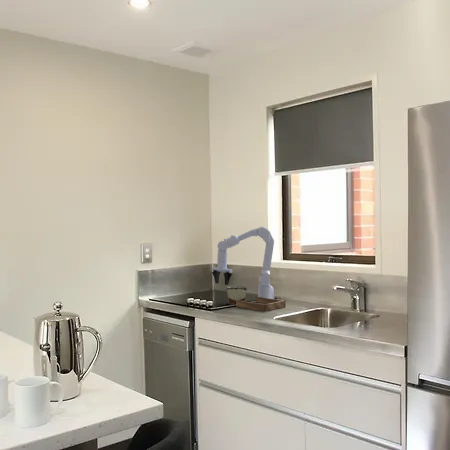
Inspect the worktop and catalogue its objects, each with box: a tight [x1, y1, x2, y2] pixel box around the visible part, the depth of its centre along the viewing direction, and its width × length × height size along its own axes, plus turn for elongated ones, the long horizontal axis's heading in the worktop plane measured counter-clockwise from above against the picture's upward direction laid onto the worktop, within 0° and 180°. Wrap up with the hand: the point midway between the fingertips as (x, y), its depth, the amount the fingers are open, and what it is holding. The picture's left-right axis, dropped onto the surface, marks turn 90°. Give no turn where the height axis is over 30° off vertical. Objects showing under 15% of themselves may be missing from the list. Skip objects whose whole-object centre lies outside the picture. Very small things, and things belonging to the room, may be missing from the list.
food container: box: [225, 285, 248, 305], centre depth 303 cm, size 12×6×10 cm, turn 84°
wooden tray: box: [235, 296, 287, 312], centre depth 291 cm, size 18×21×4 cm
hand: (221, 284), depth 310 cm, fingers open, 7 cm apart
